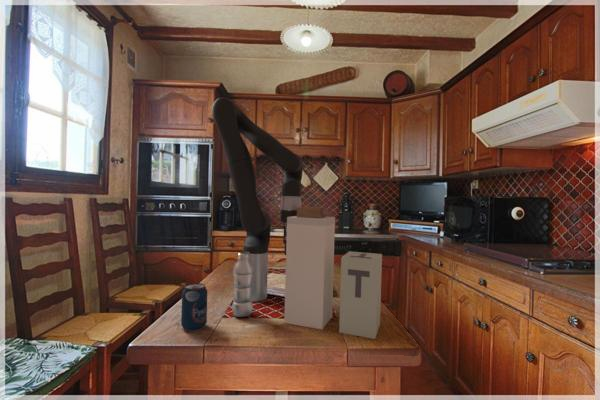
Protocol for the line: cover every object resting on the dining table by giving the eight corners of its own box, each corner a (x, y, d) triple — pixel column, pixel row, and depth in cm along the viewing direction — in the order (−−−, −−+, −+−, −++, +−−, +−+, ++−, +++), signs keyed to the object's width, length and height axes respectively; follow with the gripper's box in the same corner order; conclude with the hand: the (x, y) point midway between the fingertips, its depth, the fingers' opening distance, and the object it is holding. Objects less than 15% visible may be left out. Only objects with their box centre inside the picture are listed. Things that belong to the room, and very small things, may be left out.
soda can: (197, 334, 88) (198, 290, 88) (175, 330, 90) (176, 287, 90) (211, 324, 95) (212, 284, 95) (191, 321, 97) (192, 281, 97)
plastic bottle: (235, 321, 98) (237, 255, 98) (229, 313, 104) (230, 251, 104) (255, 317, 101) (257, 254, 101) (248, 310, 107) (250, 250, 107)
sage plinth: (347, 319, 102) (349, 251, 102) (379, 324, 99) (382, 253, 98) (339, 332, 92) (341, 256, 92) (375, 339, 88) (377, 260, 88)
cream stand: (297, 311, 108) (300, 215, 108) (332, 316, 104) (335, 217, 104) (284, 322, 98) (287, 217, 98) (322, 329, 94) (325, 219, 93)
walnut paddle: (315, 214, 115) (315, 206, 115) (334, 215, 112) (334, 207, 112) (296, 217, 98) (296, 207, 98) (318, 218, 96) (319, 208, 96)
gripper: (284, 208, 126) (282, 250, 125) (276, 209, 111) (275, 256, 111) (303, 208, 125) (302, 251, 124) (298, 209, 110) (297, 257, 110)
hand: (289, 253), depth 118 cm, fingers open, 8 cm apart
